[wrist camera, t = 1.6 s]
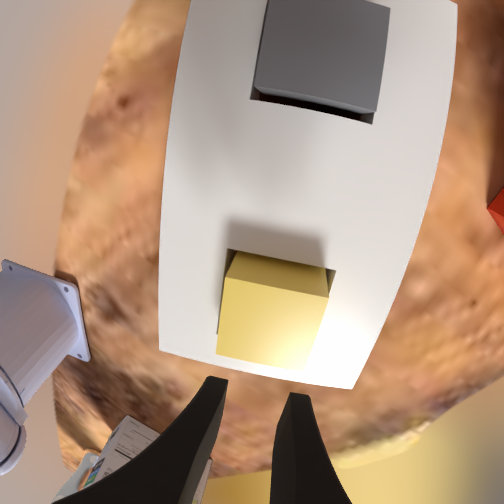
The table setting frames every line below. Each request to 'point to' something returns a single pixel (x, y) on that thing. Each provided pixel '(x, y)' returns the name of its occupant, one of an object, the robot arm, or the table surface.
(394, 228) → the board
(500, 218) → the file binder
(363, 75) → the graphite key
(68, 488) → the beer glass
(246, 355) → the mustard key
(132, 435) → the light bulb box
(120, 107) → the table surface
